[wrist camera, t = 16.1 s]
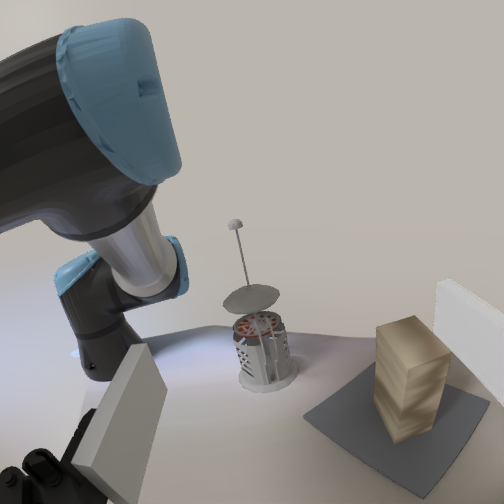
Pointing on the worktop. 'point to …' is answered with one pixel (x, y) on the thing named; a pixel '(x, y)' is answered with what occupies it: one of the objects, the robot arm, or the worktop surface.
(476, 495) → the worktop surface
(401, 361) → the birch block
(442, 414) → the mat
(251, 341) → the french press
